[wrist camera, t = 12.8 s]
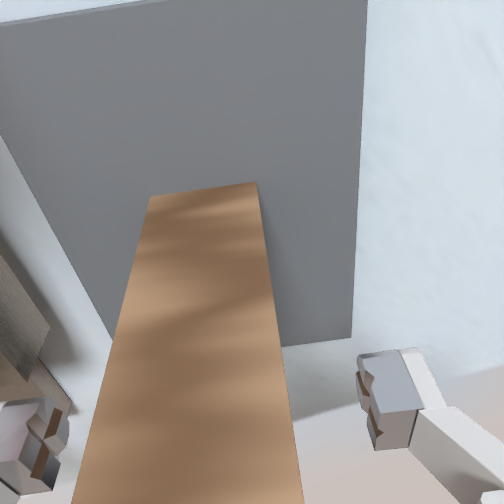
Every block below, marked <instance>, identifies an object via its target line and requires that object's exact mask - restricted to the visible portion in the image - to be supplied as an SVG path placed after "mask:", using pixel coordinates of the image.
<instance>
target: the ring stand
mask: <svg viewBox="0 0 504 504" xmlns="http://www.w3.org/2000/svg"><path fill="white" fill-rule="evenodd" d="M50 328H51V327H50V326H49V324H48V323H47V322H46V320H45V319H44V317H43V316H42V314H41V313H40V311H39V310H38V308H37V307H36V305H35V304H34V302H33V301H32V299H31V298H30V296H29V295H28V294H27V292H26V291H25V289H24V288H23V286H22V285H21V283H20V282H19V280H18V279H17V277H16V276H15V274H14V273H13V271H12V270H11V268H10V267H9V266H8V264H7V263H6V261H5V260H4V258H3V257H2V255H1V254H0V402H3V401H10V400H20V399H29V398H37V397H45V396H50V397H51V398H52V399H53V400H54V401H55V402H56V403H55V406H54V408H56V409H59V410H61V411H63V412H64V413H65V414H66V416H67V417H68V413H69V410H70V407H71V404H72V402H71V400H70V399H69V398H68V396H67V395H66V394H65V392H64V391H63V390H62V388H61V387H60V386H59V385H58V383H57V382H56V381H55V379H54V378H53V377H52V375H51V374H50V373H49V371H48V370H47V369H46V368H45V366H44V365H43V364H42V362H41V361H40V360H39V358H38V356H39V353H40V351H41V349H42V346H43V344H44V342H45V339H46V337H47V335H48V332H49V330H50Z"/></svg>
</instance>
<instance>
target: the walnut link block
mask: <svg viewBox="0 0 504 504" xmlns="http://www.w3.org/2000/svg"><path fill="white" fill-rule="evenodd" d="M71 504H304V497H303V491H302V484H301V478H300V471H299V464H298V458H297V451H296V444H295V438H294V431H293V424H292V418H291V411H290V405H289V398H288V391H287V385H286V378H285V371H284V365H283V358H282V352H281V345H280V338H279V332H278V325H277V318H276V312H275V305H274V299H273V292H272V285H271V279H270V272H269V265H268V259H267V252H266V245H265V239H264V232H263V226H262V219H261V212H260V206H259V199H258V192H257V186H256V181H255V182H248V183H241V184H234V185H227V186H221V187H214V188H207V189H200V190H193V191H186V192H179V193H172V194H165V195H158V196H152V197H150V200H149V203H148V207H147V211H146V215H145V219H144V223H143V227H142V231H141V234H140V238H139V242H138V246H137V250H136V254H135V258H134V262H133V265H132V269H131V273H130V277H129V281H128V285H127V289H126V293H125V296H124V300H123V304H122V308H121V312H120V316H119V320H118V324H117V327H116V331H115V335H114V339H113V343H112V347H111V351H110V354H109V358H108V362H107V366H106V370H105V374H104V378H103V382H102V385H101V389H100V393H99V397H98V401H97V405H96V409H95V413H94V416H93V420H92V424H91V428H90V432H89V436H88V440H87V444H86V447H85V451H84V455H83V459H82V463H81V467H80V471H79V475H78V478H77V482H76V486H75V490H74V494H73V498H72V502H71Z"/></svg>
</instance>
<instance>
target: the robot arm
mask: <svg viewBox="0 0 504 504" xmlns="http://www.w3.org/2000/svg"><path fill="white" fill-rule="evenodd" d="M357 365H358V368H359V371H358V372H357V373H356V386H357V392H358V397H359V401H360V404H361V408H362V409H363V410H364V411H365V412H366V413H368V417H367V427H368V431H369V434H370V437H371V440H372V444H373V447H374V450H375V451H376V450H387V449H398V448H408V447H409V450H410V451H411V452H412V453H413V455H414V456H415V457H416V458H417V459H418V460H419V461H420V462H421V463H422V464H423V465H424V466H425V467H426V468H427V469H428V470H429V471H430V472H431V473H432V474H433V475H434V476H435V478H436V479H437V480H438V481H439V482H440V483H441V484H442V485H443V486H444V487H445V488H446V489H447V490H448V491H449V492H450V493H451V494H452V495H453V496H454V497H455V498H456V499H457V500H458V502H460V504H504V444H503V443H502V442H501V441H500V440H498V439H497V438H496V437H494V436H493V435H492V434H491V433H489V432H488V431H487V430H485V429H484V428H482V427H481V426H480V425H479V424H477V423H476V422H475V421H474V420H472V419H471V418H470V417H468V416H467V415H466V414H464V413H463V412H462V411H460V410H459V409H458V408H457V407H455V406H448V405H447V403H446V401H445V399H444V397H443V395H442V393H441V391H440V389H439V387H438V385H437V383H436V381H435V379H434V377H433V375H432V373H431V371H430V369H429V366H428V364H427V362H426V360H425V358H424V356H423V354H422V352H421V351H420V350H419V349H418V348H417V347H413V348H406V349H399V350H396V349H395V350H388V351H382V352H375V353H368V354H362V355H358V357H357ZM55 403H56V402H55V401H54V400H53V399H52V398H51V397H50V396H45V397H37V398H29V399H20V400H10V401H3V402H0V504H16V503H17V502H18V501H19V499H20V496H22V495H28V494H35V493H41V492H48V491H53V488H54V484H55V481H56V478H57V474H58V471H59V468H60V464H61V463H60V461H59V458H58V455H59V453H60V452H61V451H62V450H63V449H64V448H65V447H66V444H67V441H68V437H69V421H68V418H67V416H66V414H65V413H64V412H63V411H61V410H59V409H56V408H54V406H55Z"/></svg>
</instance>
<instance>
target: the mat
mask: <svg viewBox="0 0 504 504" xmlns="http://www.w3.org/2000/svg"><path fill="white" fill-rule="evenodd" d="M367 4H368V0H142V1H136V2H129V3H123V4H117V5H111V6H104V7H98V8H92V9H85V10H79V11H73V12H66V13H60V14H54V15H48V16H41V17H35V18H29V19H22V20H16V21H10V22H3V23H0V135H1V136H2V138H3V140H4V142H5V144H6V146H7V147H8V149H9V151H10V153H11V155H12V157H13V158H14V160H15V162H16V164H17V166H18V168H19V169H20V171H21V173H22V175H23V177H24V179H25V180H26V182H27V184H28V186H29V188H30V190H31V191H32V193H33V195H34V197H35V199H36V201H37V202H38V204H39V206H40V208H41V210H42V212H43V213H44V215H45V217H46V219H47V221H48V223H49V224H50V226H51V228H52V230H53V232H54V234H55V235H56V237H57V239H58V241H59V243H60V245H61V246H62V248H63V250H64V252H65V254H66V255H67V257H68V259H69V261H70V263H71V265H72V266H73V268H74V270H75V272H76V274H77V276H78V277H79V279H80V281H81V283H82V285H83V287H84V288H85V290H86V292H87V294H88V296H89V298H90V299H91V301H92V303H93V305H94V307H95V309H96V310H97V312H98V314H99V316H100V318H101V320H102V321H103V323H104V325H105V327H106V329H107V331H108V332H109V334H110V336H111V338H112V340H113V339H114V335H115V331H116V327H117V324H118V320H119V316H120V312H121V308H122V304H123V300H124V296H125V293H126V289H127V285H128V281H129V277H130V273H131V269H132V265H133V262H134V258H135V254H136V250H137V246H138V242H139V238H140V234H141V231H142V227H143V223H144V219H145V215H146V211H147V207H148V203H149V200H150V197H152V196H158V195H165V194H172V193H179V192H186V191H193V190H200V189H207V188H214V187H221V186H227V185H234V184H241V183H248V182H255V181H256V186H257V192H258V199H259V206H260V212H261V219H262V226H263V232H264V239H265V245H266V252H267V259H268V265H269V272H270V279H271V285H272V292H273V299H274V305H275V312H276V318H277V325H278V332H279V338H280V345H281V347H284V346H292V345H299V344H307V343H314V342H322V341H329V340H337V339H344V338H351V331H352V310H353V290H354V270H355V249H356V229H357V208H358V188H359V167H360V147H361V127H362V106H363V86H364V65H365V45H366V24H367Z"/></svg>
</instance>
